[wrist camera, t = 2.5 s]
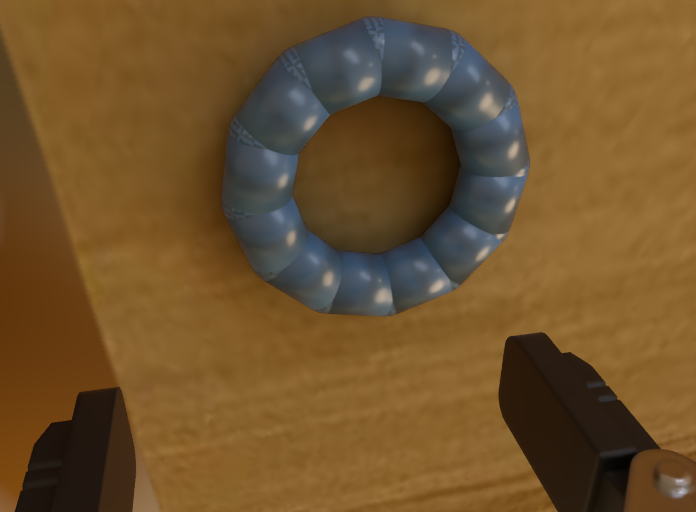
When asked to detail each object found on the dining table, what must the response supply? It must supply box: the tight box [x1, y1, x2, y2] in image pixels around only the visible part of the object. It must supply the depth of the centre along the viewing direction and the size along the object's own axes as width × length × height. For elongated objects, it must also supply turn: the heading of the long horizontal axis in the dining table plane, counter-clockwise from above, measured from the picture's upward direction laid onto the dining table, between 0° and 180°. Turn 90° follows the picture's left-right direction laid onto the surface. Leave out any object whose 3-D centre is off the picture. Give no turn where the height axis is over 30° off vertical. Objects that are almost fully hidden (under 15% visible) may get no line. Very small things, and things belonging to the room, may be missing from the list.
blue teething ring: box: [221, 17, 530, 316], centre depth 23 cm, size 11×11×2 cm
